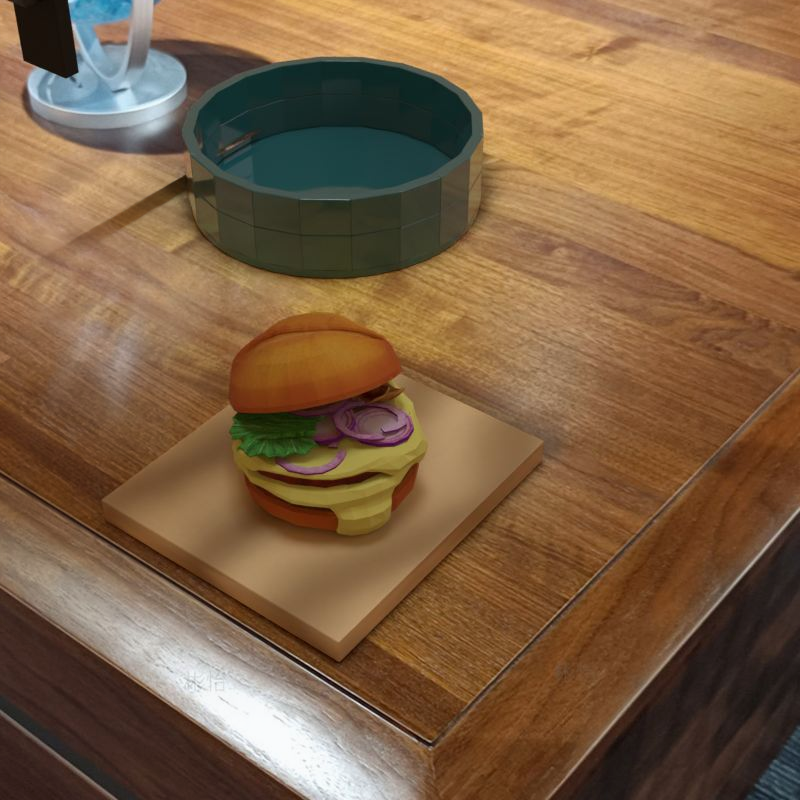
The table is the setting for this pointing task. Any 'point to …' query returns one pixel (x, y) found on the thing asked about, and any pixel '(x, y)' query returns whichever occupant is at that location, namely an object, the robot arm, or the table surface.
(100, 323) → the table surface
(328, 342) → the cheeseburger
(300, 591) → the board
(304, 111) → the bowl
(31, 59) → the robot arm
